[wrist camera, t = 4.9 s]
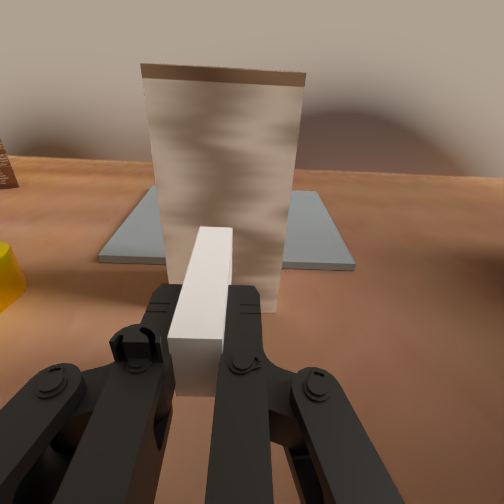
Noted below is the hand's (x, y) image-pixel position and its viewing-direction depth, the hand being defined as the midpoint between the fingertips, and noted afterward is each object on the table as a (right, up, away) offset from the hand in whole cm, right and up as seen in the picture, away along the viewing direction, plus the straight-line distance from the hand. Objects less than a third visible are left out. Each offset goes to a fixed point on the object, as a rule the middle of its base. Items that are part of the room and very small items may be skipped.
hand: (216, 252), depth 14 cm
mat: (-1, +4, +22) cm, 22 cm away
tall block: (0, -3, +11) cm, 11 cm away
